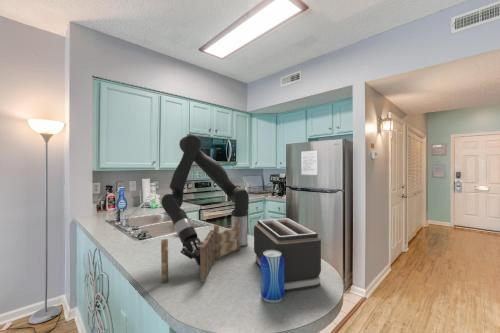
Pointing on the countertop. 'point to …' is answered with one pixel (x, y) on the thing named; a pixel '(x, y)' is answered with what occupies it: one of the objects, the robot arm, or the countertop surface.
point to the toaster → (291, 251)
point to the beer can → (272, 276)
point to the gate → (206, 255)
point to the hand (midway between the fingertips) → (202, 264)
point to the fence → (222, 245)
